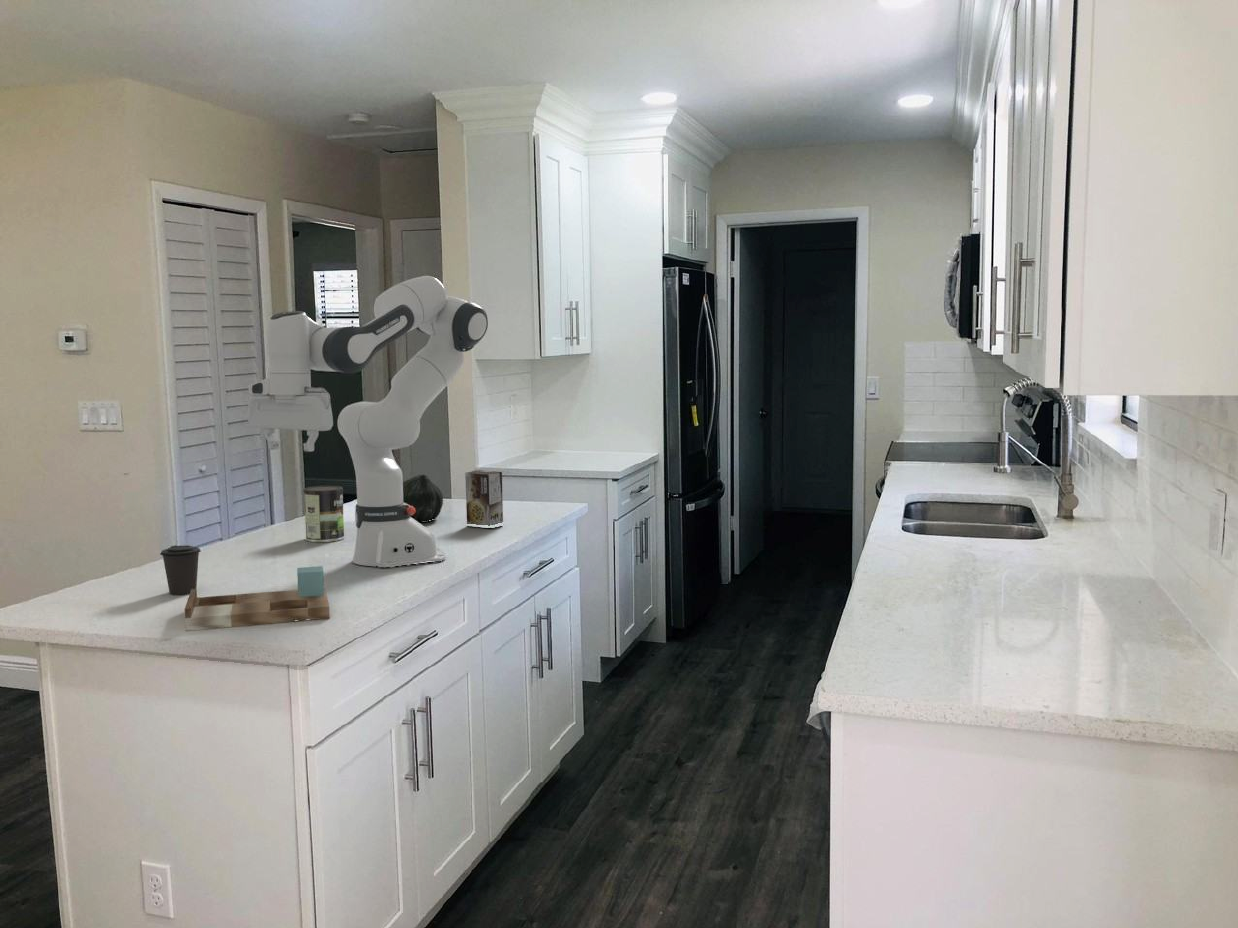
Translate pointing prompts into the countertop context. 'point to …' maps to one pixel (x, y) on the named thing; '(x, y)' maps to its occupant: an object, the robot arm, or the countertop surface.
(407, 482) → the squash
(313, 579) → the teal block
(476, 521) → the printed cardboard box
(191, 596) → the board
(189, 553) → the coffee cup
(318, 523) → the coffee can
